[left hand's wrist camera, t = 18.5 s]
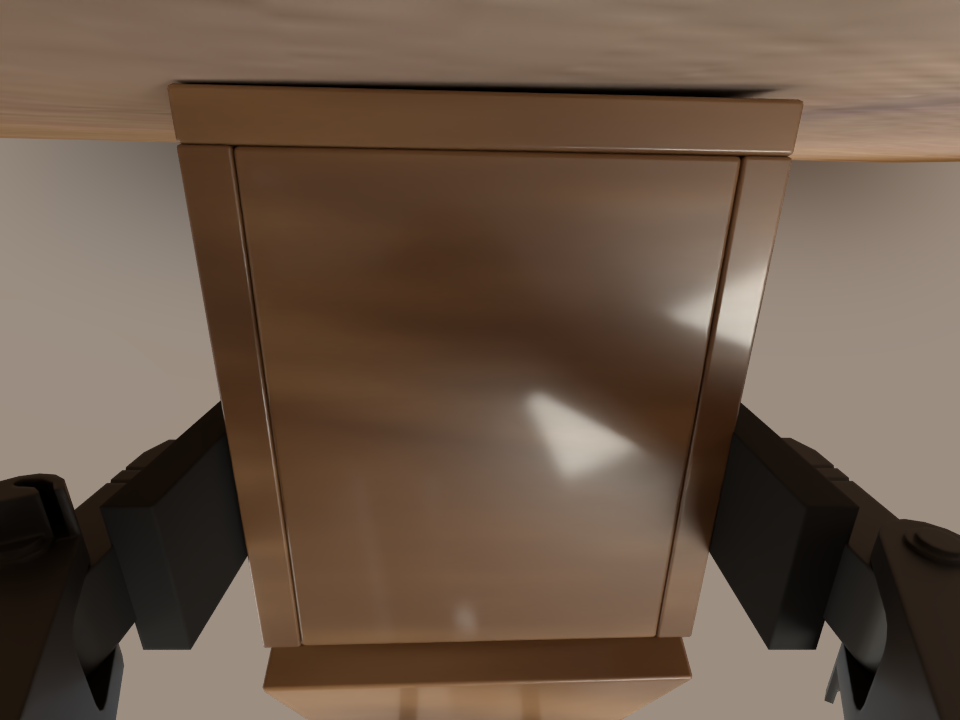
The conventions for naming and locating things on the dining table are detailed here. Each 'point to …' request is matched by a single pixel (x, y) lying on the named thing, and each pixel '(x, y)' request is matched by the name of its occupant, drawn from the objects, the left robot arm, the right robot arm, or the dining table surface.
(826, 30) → the dining table surface
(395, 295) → the chest
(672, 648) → the lid
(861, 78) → the dining table surface
